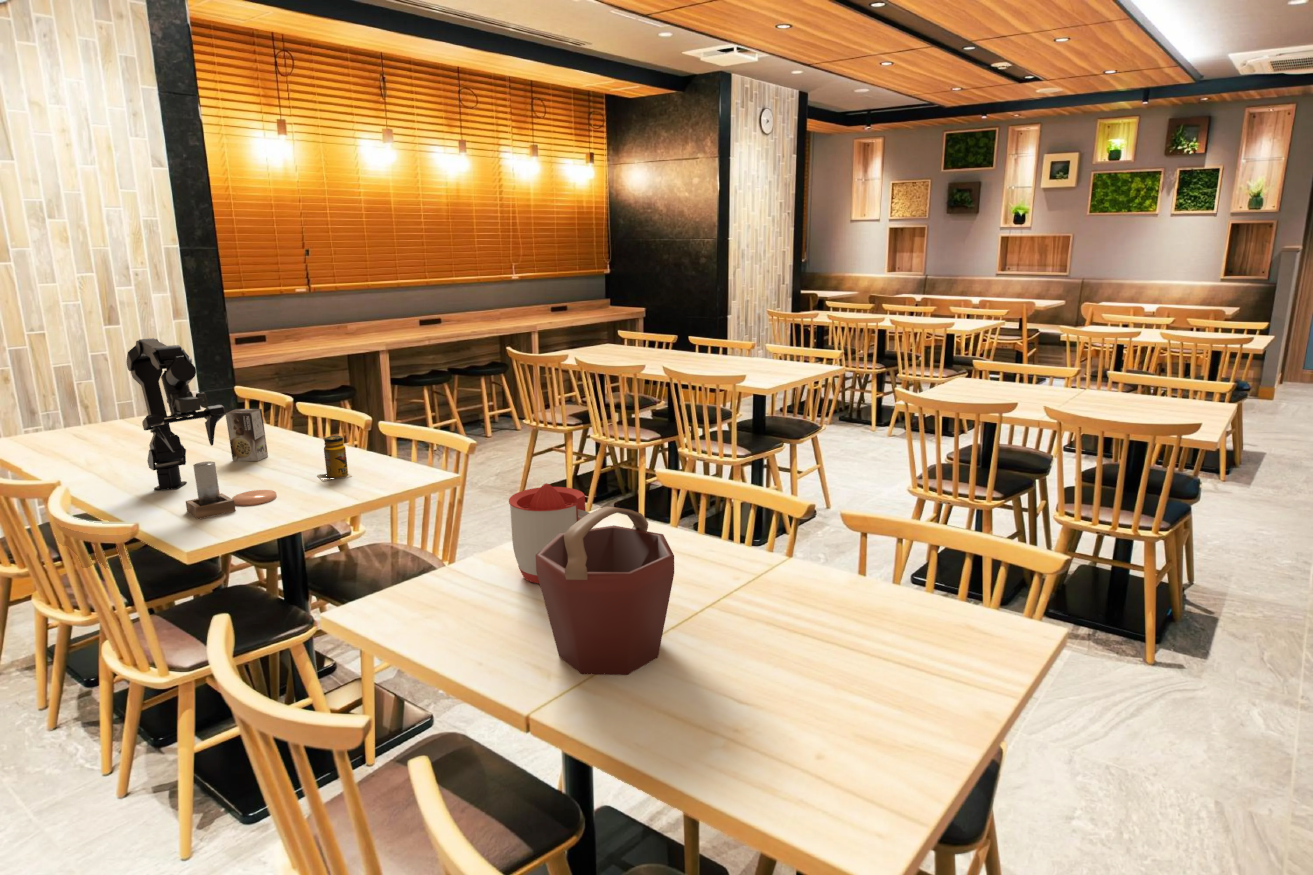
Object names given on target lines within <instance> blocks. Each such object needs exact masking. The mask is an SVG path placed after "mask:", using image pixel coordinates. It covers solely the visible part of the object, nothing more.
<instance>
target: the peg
mask: <svg viewBox="0 0 1313 875" xmlns="http://www.w3.org/2000/svg"><path fill="white" fill-rule="evenodd" d="M193 472H194V478H195V484H196V490H197V492H196V493H197V498H198V499H199V505H200V506H204V505H208V504H213V503H218V502H221V499H220V494H221V493H220V486H219V479H218V474H217V473H218V472H217V466H216V462H215V461H212V460H211V461H201V462H197V463H194V464H193Z"/></svg>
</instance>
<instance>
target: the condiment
mask: <svg viewBox="0 0 1313 875" xmlns="http://www.w3.org/2000/svg"><path fill="white" fill-rule="evenodd" d="M323 441H324V447H323V452H324V454H323V455H324V462H325V472H326V473H324V474H323V473H322V474H317V477H318V478H319V479H320V478H340V479H345V478H351V477H352V474H350V473H349V470H348V460H347V452H346V446H345V444H344V437H343V436H342V435H331V436H327V437H325V438H324V439H323ZM326 475H327V476H326ZM320 480H321V481H322V482H324V481H326V482H327V481H331V479H324V480H323V479H320Z"/></svg>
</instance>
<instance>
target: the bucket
mask: <svg viewBox="0 0 1313 875" xmlns="http://www.w3.org/2000/svg"><path fill="white" fill-rule="evenodd" d="M617 513H619V514H622V515H626V516H627V517H628V519H630V521H631V522H632V524H633V526H632V527H625V526H618V525H608V526H602V527H596V525H598V524H599V523H600V522H601V521H603V520H604V519H605V518H608V517H609V516H612V515H615V514H617ZM594 527H595V528H594ZM648 529H649V522H648V520H647V519H646V517H645V516H644V515H643V513H641V512H638V511H634V510H633V509H629V508H620V507H614V506H607V505H606V506H604V507H601V508H599V509H596V510H594V511H592V512H589V514H587V515H586V516H585V517H583V518H582V519H580V520H579V521H577V522H576V523H575V524H574V525H572V526H571V527H570V528H569V529H568V531H567V532H566V533H561V534H558V535H557V536H556V537H555V538H554V539H553V540H552V541H551V542H549V543H548V544H547V545H546V546H545V547H544V548H543V549H541V550H540V551H539V552H538V553H537V554H536V572H537V576H538V580H539V583H538V584H539V587H540V590H541V595H542V598H543V601H544V605H545V609H546V613H547V616H548V619H549V624H550V628H551V631H552V632H551V633H552V635H553V639H554V643H555V646H556V650H557V654H558V656H559V658H561V659H562V660H563V661H564V662H565V663H567V664H568V665H569V666H570V667H572V668H573V669H574V670H575V671H577V673H579V674H580V675H598V676H599V675H600V676H601V675H605V676H607V675H608V676H612V675H613V676H628V675H630V674H632V673H633V672H635V671H637V670H638V669H640V668H642V667H644V666H646V665H647V664H649V663H650V662H653V661H655V660H656V659H658V658H659V654H660V648H661V644H662V638H663V632H664V629H665V623H666V618H667V612H668V608H669V604H670V603H669V602H670V599H671V598H670V596H671V592H672V588H673V587H672V586H673V581H674V577H675V554H674V553H673V551H672V548H671V546H670V545H669V543H668V541H667V538H666V537H665V535H664V534H663V533H658V532H653V531H648Z"/></svg>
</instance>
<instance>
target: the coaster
mask: <svg viewBox="0 0 1313 875" xmlns="http://www.w3.org/2000/svg"><path fill="white" fill-rule="evenodd" d="M276 498H277V492H276V491H275V490H272V489H254V490H251V491H250V490H248V491H245V492H240V493H239V494H235V495H234V496H233V497H231V499H233V500H234V503H235V506H243V507H244V506H256V505H262V504H267V503H268V502H272V501H274V500H275V499H276ZM273 499H274V500H273ZM261 503H262V504H261Z"/></svg>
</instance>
